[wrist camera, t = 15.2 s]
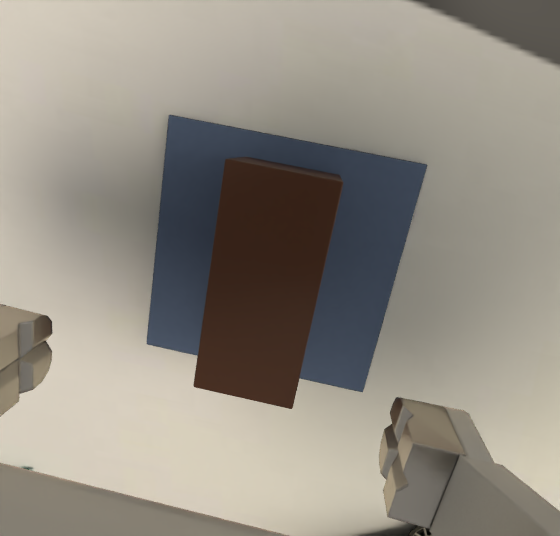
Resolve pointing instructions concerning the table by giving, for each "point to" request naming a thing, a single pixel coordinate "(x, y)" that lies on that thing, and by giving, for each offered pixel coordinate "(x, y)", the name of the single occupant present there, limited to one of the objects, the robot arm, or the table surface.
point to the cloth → (341, 254)
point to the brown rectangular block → (265, 278)
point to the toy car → (420, 532)
